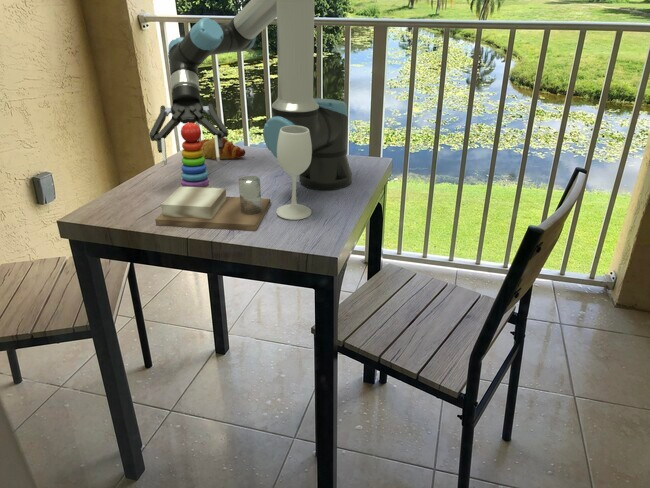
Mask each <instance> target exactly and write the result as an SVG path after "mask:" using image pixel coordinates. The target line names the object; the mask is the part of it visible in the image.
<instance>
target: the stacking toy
mask: <svg viewBox="0 0 650 488" xmlns="http://www.w3.org/2000/svg"><path fill="white" fill-rule="evenodd" d="M201 134H202V131H201V128H200V126H199V124H198V125H197V124H196V123H195V122H194V123H185V124H182V127H181V129H180V136H181V137H182V139H183V140H184V141H183V142H182V144H181V147H182V151H181V156H182V158H181V162H182V165H181V171H182V172H181V179H180V186H183V187H203V188H212V186H211V184H210V178H209V177H208V176H209V173H208V171H207V164H206V163H205V162H206V158H204V156H202V155H203V151H202V149H200V148H201V147H202V143H201V142H200V138H201V136H202V135H201Z"/></svg>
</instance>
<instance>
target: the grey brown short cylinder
mask: <svg viewBox="0 0 650 488" xmlns="http://www.w3.org/2000/svg"><path fill="white" fill-rule="evenodd" d="M238 192H239V193H238V194H239V197H240V206H241V212H242V213H243V214H247V215H253V214H258V213H260V212H261V211H262V209H261V198H262V196H261V195H262V194H261V179H260V177H258V176H255V175H245V176H241V177H240V178H238Z"/></svg>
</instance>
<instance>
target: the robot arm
mask: <svg viewBox="0 0 650 488" xmlns="http://www.w3.org/2000/svg"><path fill="white" fill-rule="evenodd" d="M315 3H316V2H315V0H249V1H248V3H246V4H245V6H243V7H242V8H241V10H240V11H239V12H238V13H237V14H236V15H235V16H234V17H233V18H232V19H231V20H230V21H229V22H227V23H221V24H219V23H218V22H217V21H216V20H214V19H211V18H209V17H202V18H200V19H199V20H198V21H197V22H196V23H195V24H194V25H192V27H191V28H190V29H189V31H188V32H187V33H186V35H185V36H184V37H183V36H182V37H180V36H178V37H176V39H172V40H171V41H170V42H169V44H168V51H167V53H168V55H167V56H168V57H167V58H168V64H169V75H170V76H169V77H170V88H171V89H170V90H171V102H172V103H171V104H172V106H171V107H166V106H165V105H163V104H162V105H161V106H160V108H159V110H160V111H159V114H158V116H157V118H156V120H155V122H154V124H153V125H152V128H151V130H150V132H149V133H148V134H149V135H148V136H149V138H150V140H151V141H152V142H156V148H157V151H158V153H159V154H161V153H162V154H161V156H162V163H163V166H168V161H167V160H168V159H167V157H168V156H167V145H166V140H165V139H166V138H167V137H168V136H169V135H170V134H171V133H172V131H173V130H175V128H176V127H177V126H179V125H180V124H181V123H182V125H185V124H186V123H194V124H195V123H196V122H197V123H198V125H201V126H202V127H203V128H205V129H206V131H208V132H209V133H210V134H211V135H212V136H213V138H214V139H215V149H216V158H217V159H216V162H217V163H220V162H221V161H220V160H221V159H219V149H222V148H223V145H222V138H223V137H225V138H227V137H229V130H228V128H227V127H226V126H225V124H224V123H223V121H222V120H221V118H220V117H219V115H218V114H217V112H216V111H215V110H214V106H213V104H212V103H208V104H207V105H202V102H201V93H200V81H199V79H200V78H199V70H198V68H199V67H200V66H201V65H202V64H203V63H204V62H205V60H207V58H208V57H210V56H214V55H221V54H222V55H223V54H227V53H228V54H229V53H236V52H238V53H239V52H244V51H247V50H250V49H252V48H253V47H254V45H255V43H256V40H257V38H256V37H257V36H258V35H259V34H260V33H261V32H262V31H263V30H264V29H266V28H267V27H268V26H269V25H270V24H271V23H272V22H274V21H275V19H276V42H277V43H276V45H277V46H276V47H277V52H276V53H277V56H276V57H277V98H276V100H275V101H274V102H272V104H271V114H272V115H271V117H270V118H269V119H267V121H266V122H265V123H264V126H263V131H262V132H263V133H262V135H263V140H264V144H265V145H266V147H267V149H268V150H269V151H270V152H271V154H272V155H273V156H274V158H277V143H278V137H279V132H280V129H281V128H282V127H285V126H303V127H306V128H308V129H309V132H310V137H311V144H312V157H311V163H310V165H309V167H308V168H307V169H306V171H304V172H303V173H301V174H300V175H298V178H299V179H298V181H299V184H300V185H302V186H303V187H305V188H309V189H313V190H319V191H320V190H321V191H322V190H323V191H328V190H329V191H331V190H340V189H343V188H345V187H348V186H350V185H352V179H353V177H352V176H353V175H352V174H353V172H352V170H351V167H350V163H349V161H348V157H347V143H348V142H347V139H348V118H349V115H348V105H347V104H346V102H344V101H342V100H337V99H330V98H317V97H316V98H314V57H315V55H314V54H315V53H314V52H315V48H314V47H315ZM204 112H205V113H206V114H207V116H209V118H211V120H212V122H213V123H214V124H215V125H213V124H212V123H211V122H210V121H209V120H208V119H207V118H206V117H205V116H204V115H203V114H204ZM170 114H172V116H171V119H170V120H169V121H168V122H167V123H166V124H165V126H163V125H164V123H165V121H166V119H167V117H169V116H170ZM162 127H163V128H162Z"/></svg>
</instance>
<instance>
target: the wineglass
mask: <svg viewBox="0 0 650 488" xmlns="http://www.w3.org/2000/svg"><path fill="white" fill-rule="evenodd" d="M311 157H312V144H311V137H310V132H309V129H308V128H306V127H303V126H285V127H282V128H281V129H280V132H279V137H278V143H277V163H278V165H279V167H280V169H281V170H282V171H283V172H284V173H285V174H287V175H289V176H290V178H291V202H290V203H287V204H283V205H281V206H279V207H278V208H276V210H275V212H276V215H277V216H278V217H280V218H282V219H285V220H290V221H295V220H298V221H299V220H302V219H306V218H308V217H310V216H311V214H312V210H311V209H310V208H309V207H307V206H306V205H304V204H298V203H297V179H298V178H299V175H300V174H301V173H303V172H304V171H306V169H307V168H308V167H309V165H310V163H311Z"/></svg>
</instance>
